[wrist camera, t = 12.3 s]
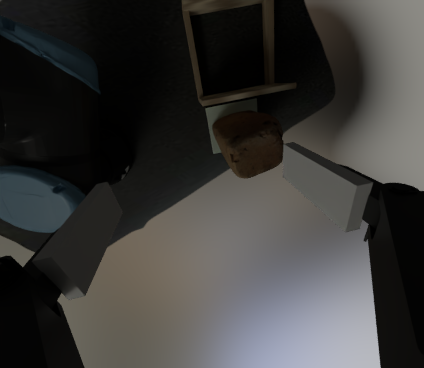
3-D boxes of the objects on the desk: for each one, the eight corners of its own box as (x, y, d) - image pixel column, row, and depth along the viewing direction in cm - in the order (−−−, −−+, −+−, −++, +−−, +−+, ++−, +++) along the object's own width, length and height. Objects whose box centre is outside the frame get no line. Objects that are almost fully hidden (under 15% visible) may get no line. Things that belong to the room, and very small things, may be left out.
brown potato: (218, 149, 47) (237, 186, 30) (207, 121, 44) (222, 144, 26) (258, 133, 47) (302, 161, 29) (251, 103, 43) (295, 114, 26)
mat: (213, 153, 48) (213, 153, 48) (205, 108, 43) (205, 108, 43) (258, 143, 49) (258, 144, 48) (255, 98, 43) (256, 98, 43)
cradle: (198, 101, 42) (203, 106, 32) (182, 11, 35) (180, -21, 24) (268, 87, 43) (296, 87, 32) (267, -4, 35) (301, -43, 25)
